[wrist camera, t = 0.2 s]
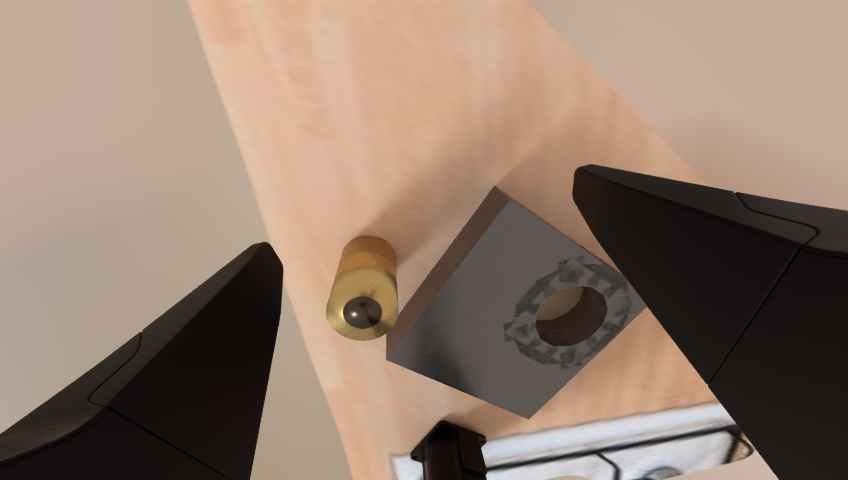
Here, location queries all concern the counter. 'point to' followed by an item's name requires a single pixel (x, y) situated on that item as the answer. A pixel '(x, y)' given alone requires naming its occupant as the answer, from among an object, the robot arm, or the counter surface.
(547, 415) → the counter surface
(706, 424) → the counter surface
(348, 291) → the bushing
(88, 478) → the robot arm
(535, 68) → the counter surface
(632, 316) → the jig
